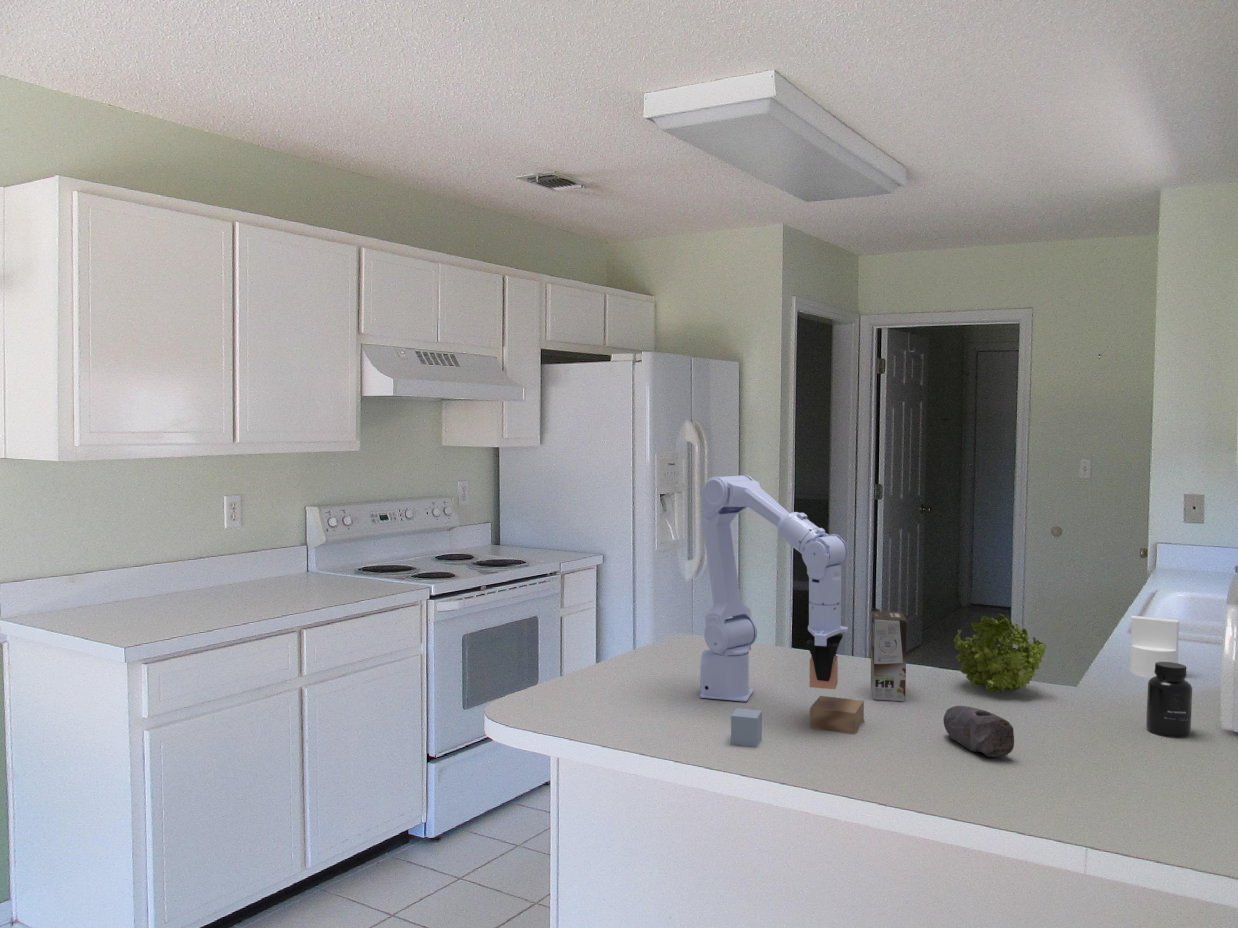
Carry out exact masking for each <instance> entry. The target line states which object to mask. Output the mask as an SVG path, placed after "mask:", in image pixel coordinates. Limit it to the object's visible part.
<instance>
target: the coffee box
mask: <svg viewBox="0 0 1238 928" xmlns="http://www.w3.org/2000/svg"><path fill="white" fill-rule="evenodd" d="M870 613H871V614H870V689H871V695H872V699H873V700H876V701H893V702H906V689H907V687H906V685H907V683H906V681H907V679H906V677H907V629H908V628H907V627H908V626H907V623H908V620H907V619H906V616H905V615H904V613H903V611H891V610H890V611H889V610H887V611H870Z"/></svg>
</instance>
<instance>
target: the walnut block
mask: <svg viewBox="0 0 1238 928" xmlns="http://www.w3.org/2000/svg"><path fill="white" fill-rule="evenodd" d="M864 703H865V701H864V700H859V699H852V698H843V697H835V696H828V695H827V696H826V695H819V696H818V698H817V699H816V700H815V701H814V703H813V704H812V705H810V707H809V728H810V729H815V730H823V731H831V732H839V733H844V734H845V733H846V734H851V735H853V734H854V735H856V734H857V732H858V730H859V729H860V727H861V726H862V724H863V723H864V721H865V719H864V717H865V716H864V714H865V713H864V712H865V711H864V710H865V709H864V707H865V704H864Z"/></svg>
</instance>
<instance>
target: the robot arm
mask: <svg viewBox="0 0 1238 928" xmlns="http://www.w3.org/2000/svg"><path fill="white" fill-rule="evenodd" d="M700 494H701V496H700V497H701V504H702V513H701V522H702V523H701V524H702V530H703V536H704V537H703V538H704V542H705V550H706V551H705V552H706V557H707V566H708V573H709V580H710V586H711V595H712V601H713V604H712V606H711V608H710V609H709V610H708V611H707V613H706V614H705V616H704V619H705V626H704V631H703V636H704V642H705V644H706V646H707V647H708V648H709V649H704V650H703V651H702V653H701V656H700V668H699V669H700V678H699V679H700V680H699V681H700V690H699V692H700V694H699V698H700V699H701V698H702V699H713V700H724V701H735V702H743V703H744V702H747V701H748V700H749V698H750V697H751V696H752V694H753V693H754V689H753V688H750V687H749V686H750V685H749V681H750V678H749V677H750V673H749V672H750V670H749V669H750V666H749V665H750V661H749V659H750V655H749V654H750V652H749V651H751V650H752V645H753V644H755V642H756V639H757V637H758V628H757V626H756V623H755V622H754V620H753V617H752V613H751V612H752V611H751V609H750V607H748V606H747V605H746V604H745V603H743V602H742V599H741V592H740V586H739V585H740V584H739V578H738V571H737V566H736V565H737V564H736V556H735V551H734V550H735V549H734V544H733V536H732V530H731V523H732V522H733V520H734V519H736V516H737V515H738V514H740V513H741V512H743V511H744V510H745V509H747V508H749V509H750V510H752V511H753V512H755V513H756V514H758V515H759V516H761V517H763V518H764V519H765V520H767V521H768V522H769V523H771V524H772V525H774V526H775V527H776V528H777V534H778V536H779V537H780V538H781V539H782V540H784V541H785V542H786V543H788V545H790V546H791V547H793V549H795V550H796V551H797V552H798V553H800V554H801V558H802V561H803V563H804V564H805V566H806V575H808V625H807V631H808V632H809V633H810V634H811V635H810V637H811V639H808V640H807V641H806V647H807V649H808V651H809V653H810V655H811V656H812V658H813V662H814V667H815V673H816V677H817V680H819V681H829V679H830V676H831V671H832V664H833V659H834V656H837V652H838V648H839V647H840V643H841V641H842V639H843V636H844V634H843V633H848V631H849V627H848V626H844V625H843V626H842V565H843V564H844V563H846V561H847V559H848V555H849V549H848V545H847V543H846V542H845V540H844V539H843V538H842V537H841V536H840V535H839V534H836V533H833V534H828V533H826V530H825V528H823V527H819V526H817V525H816V524H815V523H813V522H812V521H810V519H809V518H808V515H807V514H806V513H805V512H798V511H792V512H789V511H788V510H787V509H785V508H784V507H783V506H782V505H781V504H780V503H778V501H776V500H775V499H774V498H773V497H772V496H770V495H769V493H768V492H766V491H765V490H764V489H762V487H761V484H760V482H759V481H757V480H755V479H754V478H752V476H750V475H748V474H740V475H729V476H727V475H726V476H711V477H709V478H708V479H707V480H706V482H705V483H704V484H703V486H702V488H701V489H700ZM811 656H810V657H811Z"/></svg>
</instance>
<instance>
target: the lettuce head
mask: <svg viewBox="0 0 1238 928" xmlns="http://www.w3.org/2000/svg"><path fill="white" fill-rule="evenodd" d="M980 621H981V622H974V621H972V622H971V623H970V626H971V627H972V630H973V633H974V634H973V635H972V638H971V637H969V636H966V637H964V640H962V639H961V634H962V630H963V629H962V628H961V629H957V632H958V633H957V634H955V638H954V639H953V642H954V648H955V649H956V651H958V652H959V654H957V656H956V657H955V659H956V660H957V661H958V663H960V664H961V667H960V668H959V671H960V672H961V673H962V674H963V675H966V676H965V677H966V679H967V680H968V681H969V682H971V684H972V686H973V685H974V686H976V687H977V686H978V687H979V686H980V687H981V685H982V687H984V686H985V689H986V691H987V692H989V693H993V694H995V693H1002V692H1004V691H1008V692H1013V691H1014V692H1015V691H1017V690H1020V689H1025V690H1026V686H1027V685H1028V684H1029V685H1030V683H1031V682H1032V681H1033V679H1032V678H1033V677H1036V673H1035V672H1036V670H1039V669H1040V665H1039V663H1042V662H1043V659H1042V658H1044V655H1045V652H1046V650H1047V645H1046V643H1044V642H1040V640H1038V639H1036V637H1035V636H1034V637H1032V640H1033V642H1031V643H1029V642H1030V640H1029V639H1030V637H1029V633H1028V631H1027V629H1026V628H1022V629H1021V627H1020V626H1019V624H1017V623H1015V624H1014V623H1013V622H1012V621H1011V620H1009V619H1008V618H1007V617H1006V616H1005V615H1004V614H1001V613H998V616H997V617H996V619H994V618H993V617H992V618H990V617H988V616H986V615H982V616H981V620H980ZM975 633H976V634H975ZM980 637H981V638H980ZM979 639H980V640H979ZM965 640H966V641H965ZM998 643H1000V644H998ZM996 645H998V647H996ZM1014 645H1016V646H1017V647H1016V648H1015V647H1014ZM1030 681H1031V682H1030Z"/></svg>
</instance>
